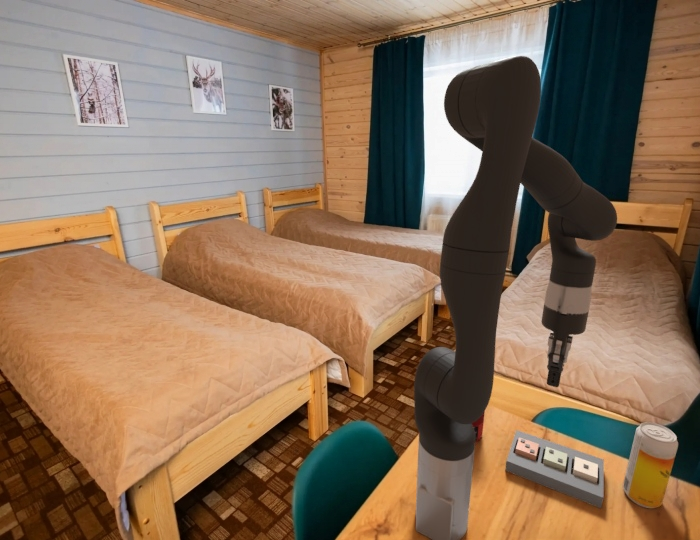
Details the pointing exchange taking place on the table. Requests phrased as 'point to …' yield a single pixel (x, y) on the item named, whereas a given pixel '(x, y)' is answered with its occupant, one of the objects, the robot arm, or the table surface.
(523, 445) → the tile three terracotta
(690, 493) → the table surface
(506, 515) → the table surface
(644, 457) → the beer can
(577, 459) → the tile one cream
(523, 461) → the slate board
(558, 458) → the tile two sage
